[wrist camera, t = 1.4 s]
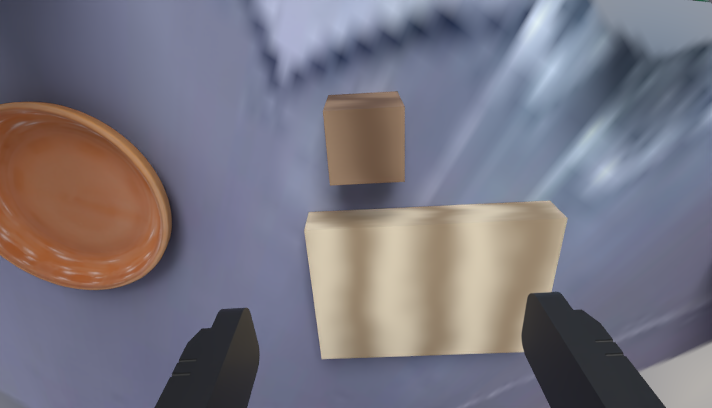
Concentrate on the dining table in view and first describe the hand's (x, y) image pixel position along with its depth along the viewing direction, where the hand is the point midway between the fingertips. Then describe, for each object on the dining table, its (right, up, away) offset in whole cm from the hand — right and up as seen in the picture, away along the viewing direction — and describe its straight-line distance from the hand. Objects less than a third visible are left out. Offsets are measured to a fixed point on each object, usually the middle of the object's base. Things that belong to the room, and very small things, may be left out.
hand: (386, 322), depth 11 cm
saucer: (-23, +4, +21) cm, 32 cm away
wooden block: (+5, -3, +24) cm, 25 cm away
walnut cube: (0, +9, +18) cm, 20 cm away
